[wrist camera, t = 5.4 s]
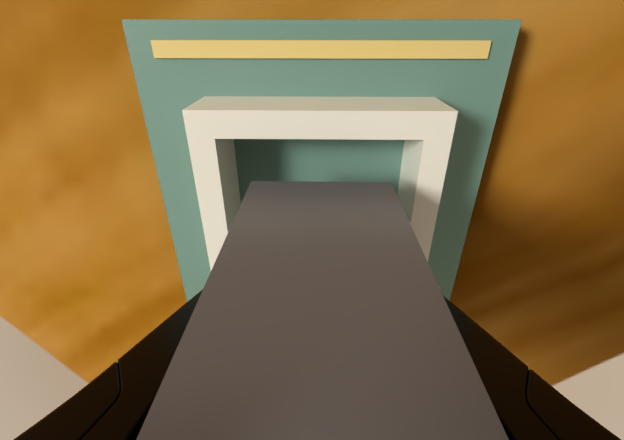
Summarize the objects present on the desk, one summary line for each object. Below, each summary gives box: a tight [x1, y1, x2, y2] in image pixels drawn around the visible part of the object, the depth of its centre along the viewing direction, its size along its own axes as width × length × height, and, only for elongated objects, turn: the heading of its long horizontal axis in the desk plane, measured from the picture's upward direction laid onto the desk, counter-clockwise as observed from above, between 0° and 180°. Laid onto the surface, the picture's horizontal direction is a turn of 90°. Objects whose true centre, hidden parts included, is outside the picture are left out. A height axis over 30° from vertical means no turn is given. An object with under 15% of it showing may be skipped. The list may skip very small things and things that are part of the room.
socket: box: [182, 96, 458, 270], centre depth 12 cm, size 8×8×2 cm
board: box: [122, 20, 522, 302], centre depth 14 cm, size 12×12×1 cm
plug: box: [136, 181, 509, 440], centre depth 7 cm, size 4×4×8 cm
